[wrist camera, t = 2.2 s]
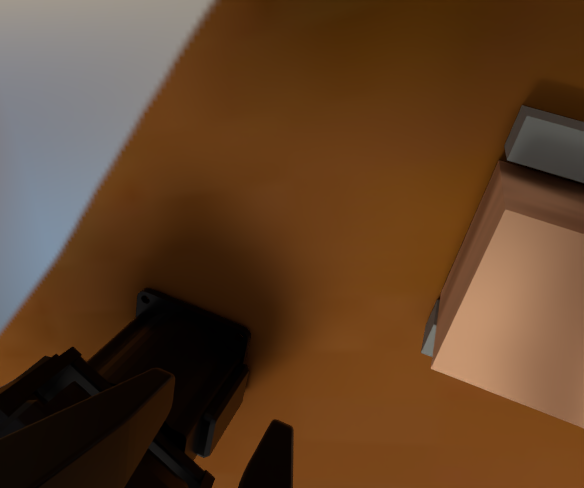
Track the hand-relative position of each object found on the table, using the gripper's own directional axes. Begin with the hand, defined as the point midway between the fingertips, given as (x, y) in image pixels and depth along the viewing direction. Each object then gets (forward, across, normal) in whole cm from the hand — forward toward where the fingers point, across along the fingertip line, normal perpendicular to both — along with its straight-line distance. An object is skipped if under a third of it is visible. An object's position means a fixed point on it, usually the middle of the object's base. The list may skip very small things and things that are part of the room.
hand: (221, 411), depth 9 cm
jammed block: (+13, -8, 0) cm, 15 cm away
